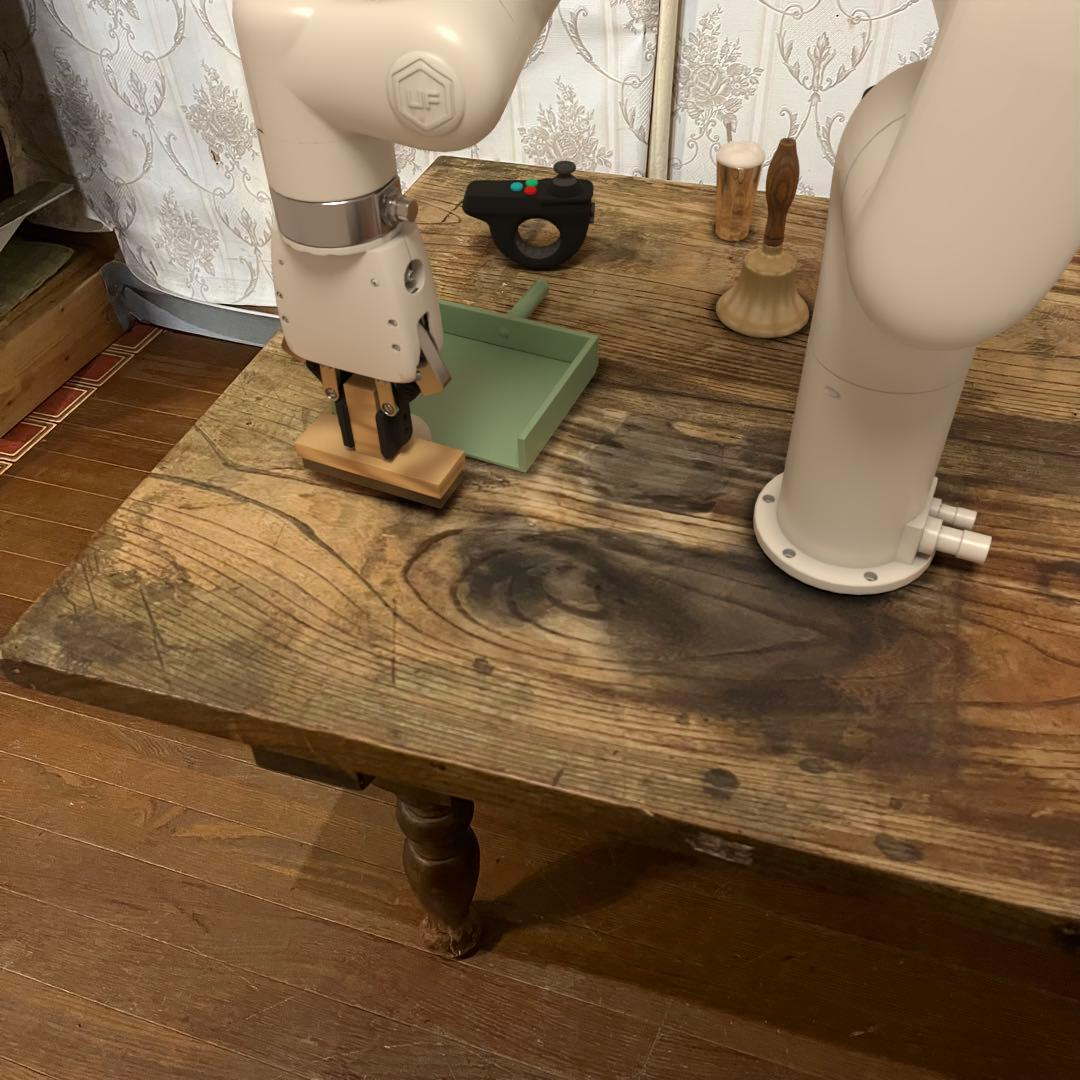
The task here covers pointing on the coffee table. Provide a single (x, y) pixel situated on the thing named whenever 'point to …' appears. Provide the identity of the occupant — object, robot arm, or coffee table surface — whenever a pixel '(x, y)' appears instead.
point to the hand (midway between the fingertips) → (377, 439)
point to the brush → (379, 452)
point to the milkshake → (736, 186)
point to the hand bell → (769, 264)
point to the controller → (534, 213)
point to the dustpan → (505, 381)
